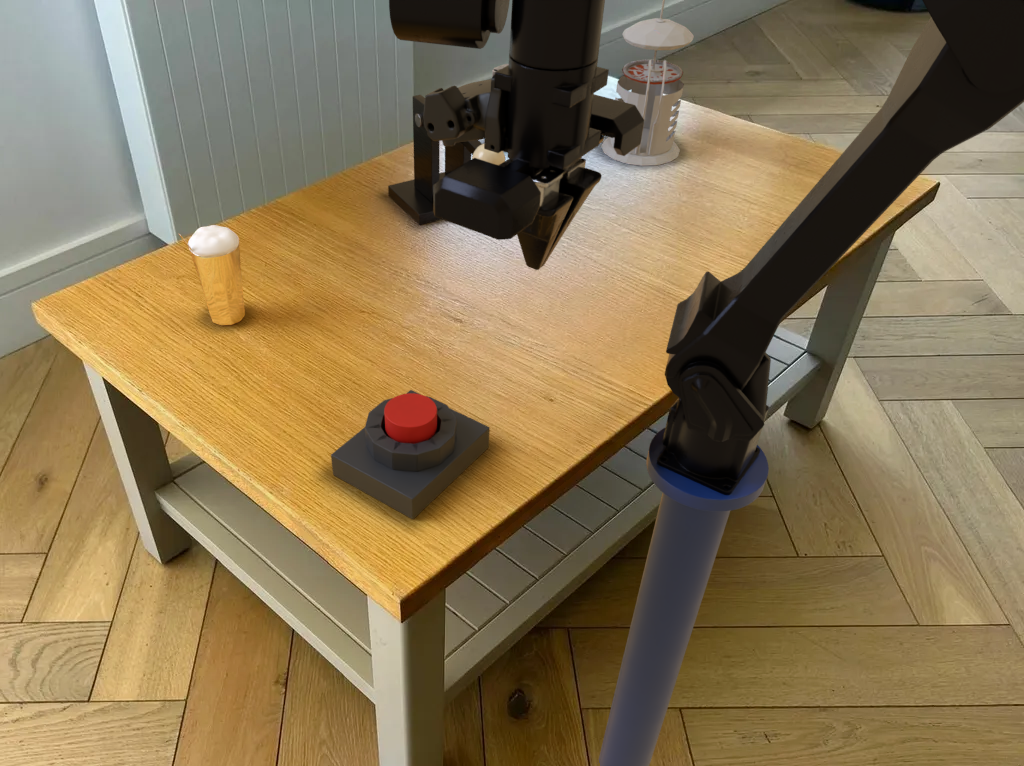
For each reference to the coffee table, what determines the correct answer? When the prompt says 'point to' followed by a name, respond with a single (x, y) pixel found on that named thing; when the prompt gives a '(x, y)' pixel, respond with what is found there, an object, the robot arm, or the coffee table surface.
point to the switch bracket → (425, 169)
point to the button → (410, 418)
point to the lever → (483, 152)
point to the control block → (409, 459)
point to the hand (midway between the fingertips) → (534, 266)
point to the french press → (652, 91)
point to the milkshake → (219, 272)
